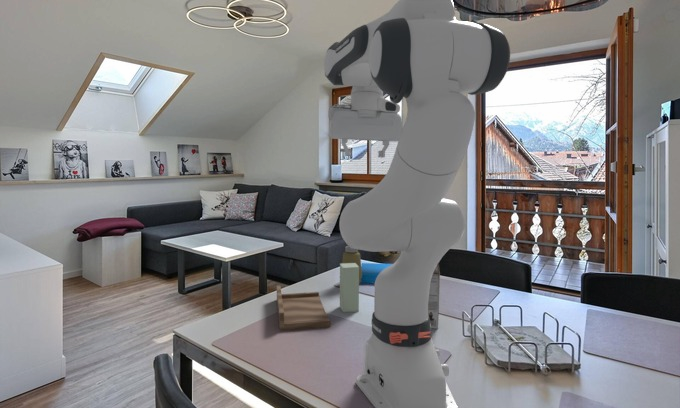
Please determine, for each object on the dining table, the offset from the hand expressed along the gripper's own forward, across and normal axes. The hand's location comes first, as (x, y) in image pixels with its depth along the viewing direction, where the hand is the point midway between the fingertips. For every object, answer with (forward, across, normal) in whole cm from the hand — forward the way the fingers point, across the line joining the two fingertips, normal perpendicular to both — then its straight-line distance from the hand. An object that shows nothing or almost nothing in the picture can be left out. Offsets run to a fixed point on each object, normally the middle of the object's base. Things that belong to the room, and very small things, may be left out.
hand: (364, 156), depth 110 cm
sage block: (+47, 0, +13) cm, 49 cm away
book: (+46, +22, +43) cm, 67 cm away
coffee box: (+47, +20, -1) cm, 51 cm away
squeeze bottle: (+46, +5, +37) cm, 59 cm away
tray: (+48, -16, +12) cm, 51 cm away
